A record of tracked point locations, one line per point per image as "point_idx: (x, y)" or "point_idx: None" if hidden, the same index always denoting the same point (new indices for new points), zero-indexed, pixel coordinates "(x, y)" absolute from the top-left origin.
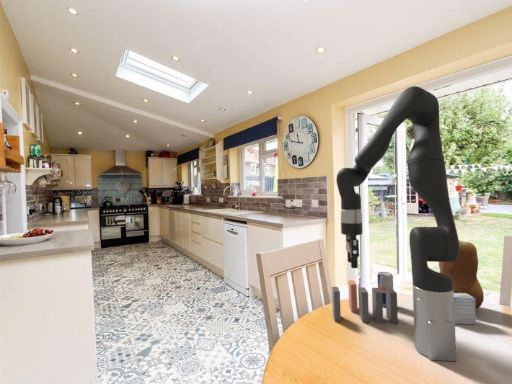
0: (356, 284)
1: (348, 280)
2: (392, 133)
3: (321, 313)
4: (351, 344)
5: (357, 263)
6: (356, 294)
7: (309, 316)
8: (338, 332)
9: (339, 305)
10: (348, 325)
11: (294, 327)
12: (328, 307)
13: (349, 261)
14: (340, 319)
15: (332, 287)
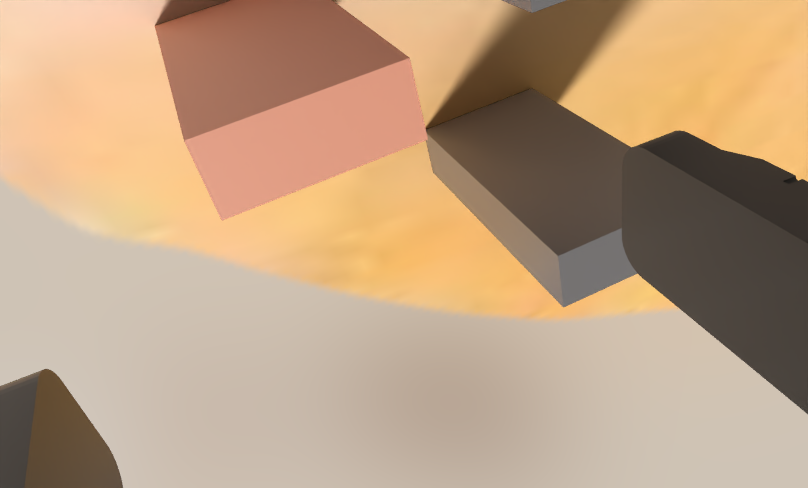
0: (404, 59)
1: (235, 214)
2: None
3: (427, 252)
4: None
5: (755, 175)
6: (358, 25)
7: (497, 297)
8: (680, 68)
9: (610, 141)
10: (580, 20)
11: (644, 304)
12: (289, 246)
13: (107, 463)
14: (541, 95)
15: (587, 294)
